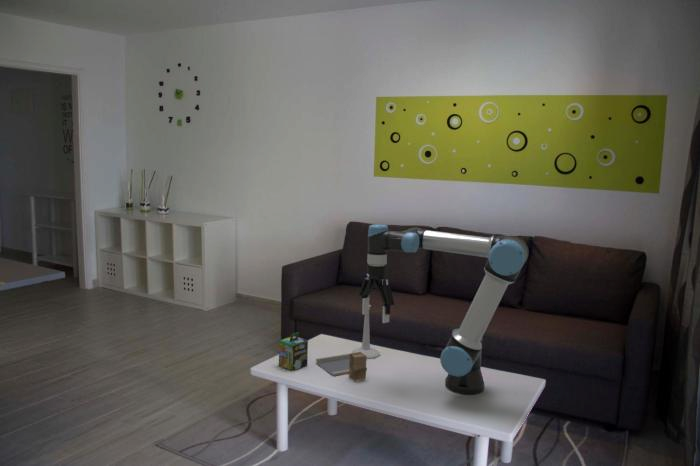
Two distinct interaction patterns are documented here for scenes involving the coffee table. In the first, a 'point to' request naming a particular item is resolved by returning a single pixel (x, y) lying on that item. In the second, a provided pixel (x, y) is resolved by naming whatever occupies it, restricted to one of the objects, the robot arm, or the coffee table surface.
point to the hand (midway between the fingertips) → (375, 318)
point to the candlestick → (367, 340)
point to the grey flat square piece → (335, 364)
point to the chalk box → (293, 352)
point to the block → (357, 366)
